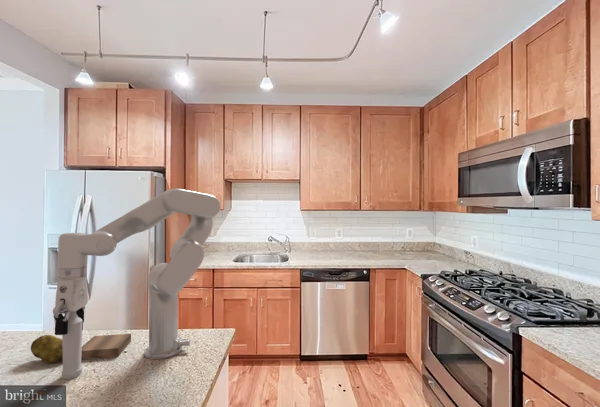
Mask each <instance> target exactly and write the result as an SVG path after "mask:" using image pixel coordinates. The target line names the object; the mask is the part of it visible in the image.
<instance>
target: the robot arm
mask: <svg viewBox="0 0 600 407" xmlns="http://www.w3.org/2000/svg"><path fill="white" fill-rule="evenodd" d="M220 210H221V203H220V201H219V199H218V198H217V197H216V196H215V195H212V194H209V193H202V192H197V191H193V190H192V191H191V190H189V189H187V190H186V189H183V188H172V189H167V190H165V191H163V192H161V193H159V194H158V195H157V196H154V197H153V198H151V199H150V200H147V201H146V202H145V203H142V204H141V205H139V206H137V207H135V208H134V209H131V210H130V211H128V212H126V213H125V214H123V215H122V216H120V217H118V218H116V219H114V220H112V221H110V222H109V223H107V224H106V225H104V226H102V227H100V228H99V229H97V230H95V231H94V232H92V233H87V234H86V233H83V232H66V233H62V234H60V235H59V237H58V242H57V243H58V244H57V264H56V265H57V269H56V280H57V286H56V293H55V302H54V306H55V307H53V309H52V314H53V318H54V336H62V335H66V334H67V333H68V320H67V318H68V316H69V313H70V312H75V311H76V315H78V317H79V318H81V319H82V324H83V323H84V322H85V310H86V305H87V304H88V298H89V297H88V280H87V276H88V275H87V274H88V256H94V257H95V256H96V257H105V256H109V255H110V254H112V253H113V252H114V251H115V250H116V248H117V244H119V243H120V242H122V241H124V240H126V239H127V238H130V237H131V236H133V235H135V234H139V233H143V232H145V231H148V230H150V229H153V227H155V226H157V225H158V224H159V223H160V222H163V221H164V220H166V219H167V218H169V217H171V216H173V215H174V214H175V213H177V214H178V213H179V214H183V215H187V216H189V215H190V216H191V221H190V223H189V225H188V226H187V228H186V229H185V230H184V231H183V233H182V234H181V236H180V237H179V238H178V239H177V241H175V243H173V245H172V246H171V248H170V251H169V255H170V256H169V257H170V258H171V259H170V260H169V262H161V263H160V262H159V263H157V264H156V265H154V266H153V267H152V268H151V269H150V270H149V273H148V278H147V285H148V286H147V287H148V288H147V289H148V301H149V303H148V304H149V305H148V306H149V309H148V329H149V330H148V346H146V348H145V349H144V351H143V355H144V356H145V358H148V359H151V360H159V359H160V360H162V359H167V358H169V357H174V356H175V355H177V354H179V353H180V352H181V351H182V349H183V347H187V346H190V345H191V340H190V339H189V338H186V337H185V338H181V336H180V334H179V333H178V332H179V331H178V330H179V327H178V325H179V324H178V323H179V321H178V320H179V319H178V318H179V316H178V315H179V298H178V297H179V296H178V293H179V292H181V291H182V290H183V289H184V287H185V286H186V285H187V283H188V282H189V281H190V280H191V278H192V277H193V276H194V275H195V273H196V271H197V270H198V269H199V267H200V266H201V265H202V263H203V261H204V258H205V249H204V248H203V245H204V244H205V242H206V241H207V239H208V238H209V237H210V235H211V232H212V230H213V222H214V221H213V218H214V217H215V216H217V215H218V214H219V212H220ZM63 314H64V315H63Z"/></svg>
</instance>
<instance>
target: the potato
mask: <svg viewBox="0 0 600 407" xmlns="http://www.w3.org/2000/svg"><path fill="white" fill-rule="evenodd" d="M30 351H31V354H32V355H33V356H34V357H35V358H36V359H40V360H41V361H42V363H43V362H44V363H45V364H46V363H47V364H55V363H60V362H63V346H62V339H61V338H60V337H57V336H56V335H51V334H45V335H41V336H39V337H38V338H35V339H34V340H33V341H32V342H31V345H30Z"/></svg>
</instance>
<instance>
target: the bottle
mask: <svg viewBox="0 0 600 407" xmlns="http://www.w3.org/2000/svg"><path fill="white" fill-rule="evenodd" d="M67 320H68V333H67V334H66V335H61V338H62V346H63V361H62V371H61V378H62V379H63V380H71V379H74V378H77V377H79V376H80V375H82V373H83V372H82V371H83V366H82V360H81V350H82V346H83V323H82V319H81V318H79V317H78V315H76V311H75V312H70V313H69V315H68V318H67Z"/></svg>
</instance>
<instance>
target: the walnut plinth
mask: <svg viewBox="0 0 600 407" xmlns="http://www.w3.org/2000/svg"><path fill="white" fill-rule="evenodd" d="M131 342H132V333H122V334H119V333H118V334H106V335H104V334H103V335H93V337H91V338H90V339H89V340H88V341H87V342H85V343H84V344H82V350H81V361H83V360H94V359H95V360H96V359H106V358H108V359H109V358H119V357H120V355H121V354H122V353H123V352H124V350H125V349H126V348H127V347H128V346H129V345H130V343H131Z"/></svg>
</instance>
